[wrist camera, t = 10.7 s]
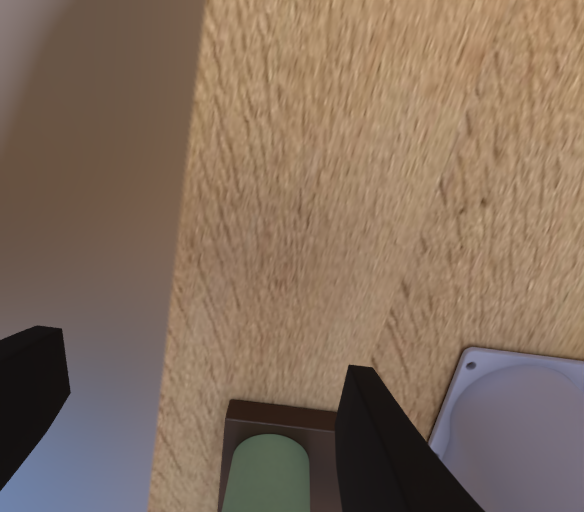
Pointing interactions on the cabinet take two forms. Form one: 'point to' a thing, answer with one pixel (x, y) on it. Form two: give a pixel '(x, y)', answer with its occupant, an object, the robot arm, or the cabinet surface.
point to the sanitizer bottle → (268, 476)
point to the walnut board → (297, 426)
